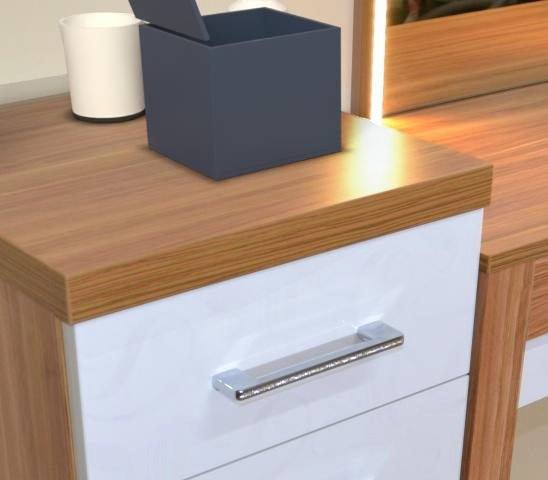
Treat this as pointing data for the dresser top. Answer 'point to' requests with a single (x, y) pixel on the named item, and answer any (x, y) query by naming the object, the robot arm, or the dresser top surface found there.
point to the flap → (172, 16)
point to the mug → (104, 66)
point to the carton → (243, 91)
